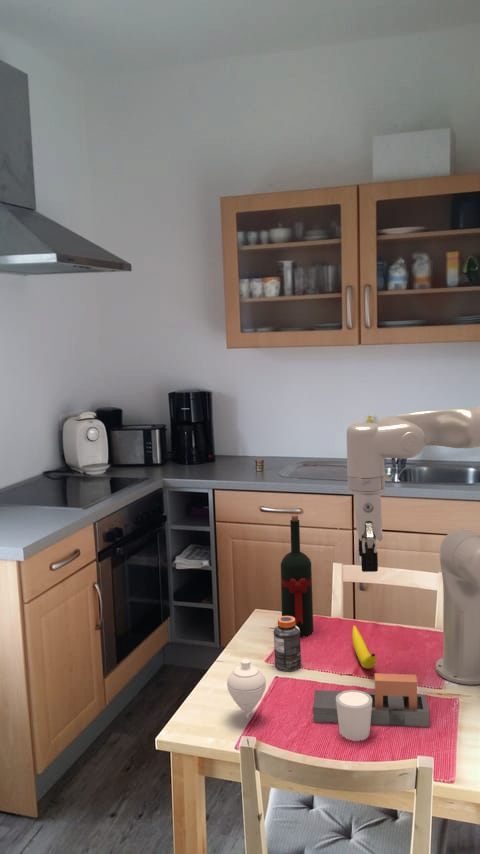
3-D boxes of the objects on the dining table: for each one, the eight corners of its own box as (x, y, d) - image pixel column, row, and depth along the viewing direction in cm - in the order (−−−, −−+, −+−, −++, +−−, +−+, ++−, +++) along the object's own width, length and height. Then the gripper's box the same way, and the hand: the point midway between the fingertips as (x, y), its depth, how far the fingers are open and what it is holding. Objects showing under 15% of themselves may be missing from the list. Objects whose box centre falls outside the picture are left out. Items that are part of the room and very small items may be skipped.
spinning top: (254, 731, 144) (252, 672, 143) (221, 721, 149) (218, 664, 147) (274, 713, 151) (272, 656, 149) (241, 704, 155) (239, 649, 153)
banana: (360, 644, 181) (360, 619, 180) (380, 681, 162) (380, 654, 161) (348, 645, 181) (348, 620, 180) (367, 682, 162) (366, 654, 161)
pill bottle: (301, 660, 174) (300, 613, 172) (300, 672, 168) (299, 623, 166) (275, 660, 175) (274, 613, 173) (274, 671, 169) (272, 623, 167)
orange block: (416, 713, 149) (416, 674, 148) (417, 721, 146) (417, 682, 145) (375, 711, 150) (374, 673, 149) (375, 719, 147) (374, 680, 146)
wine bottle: (283, 642, 184) (280, 522, 179) (281, 625, 194) (277, 512, 189) (316, 641, 184) (313, 521, 179) (311, 624, 194) (309, 510, 190)
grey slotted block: (425, 708, 151) (425, 694, 150) (429, 727, 144) (429, 712, 143) (315, 703, 154) (314, 690, 154) (313, 721, 147) (313, 707, 147)
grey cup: (332, 724, 146) (332, 690, 145) (367, 721, 147) (367, 688, 146) (340, 744, 139) (339, 709, 138) (377, 741, 140) (376, 706, 139)
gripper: (388, 492, 146) (390, 577, 149) (381, 474, 163) (382, 550, 166) (349, 493, 147) (352, 577, 149) (346, 474, 164) (348, 550, 166)
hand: (368, 563), depth 158 cm, fingers open, 9 cm apart
